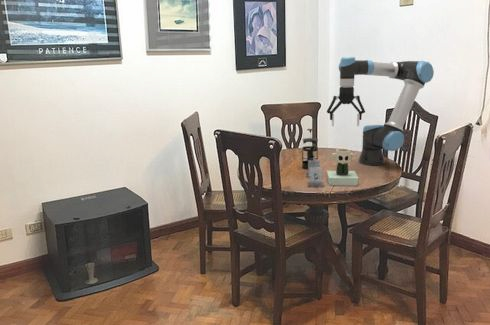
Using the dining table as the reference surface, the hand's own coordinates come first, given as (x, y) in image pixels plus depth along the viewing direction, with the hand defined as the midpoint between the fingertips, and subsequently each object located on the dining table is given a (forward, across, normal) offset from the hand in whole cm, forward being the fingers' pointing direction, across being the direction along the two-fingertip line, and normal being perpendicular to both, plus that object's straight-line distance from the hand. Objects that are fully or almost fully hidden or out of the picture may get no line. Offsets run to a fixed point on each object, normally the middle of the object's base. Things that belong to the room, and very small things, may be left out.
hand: (345, 126), depth 246 cm
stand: (+27, +3, +17) cm, 32 cm away
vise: (+27, +17, +15) cm, 35 cm away
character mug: (+23, +3, +17) cm, 29 cm away
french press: (+27, +18, -13) cm, 35 cm away
